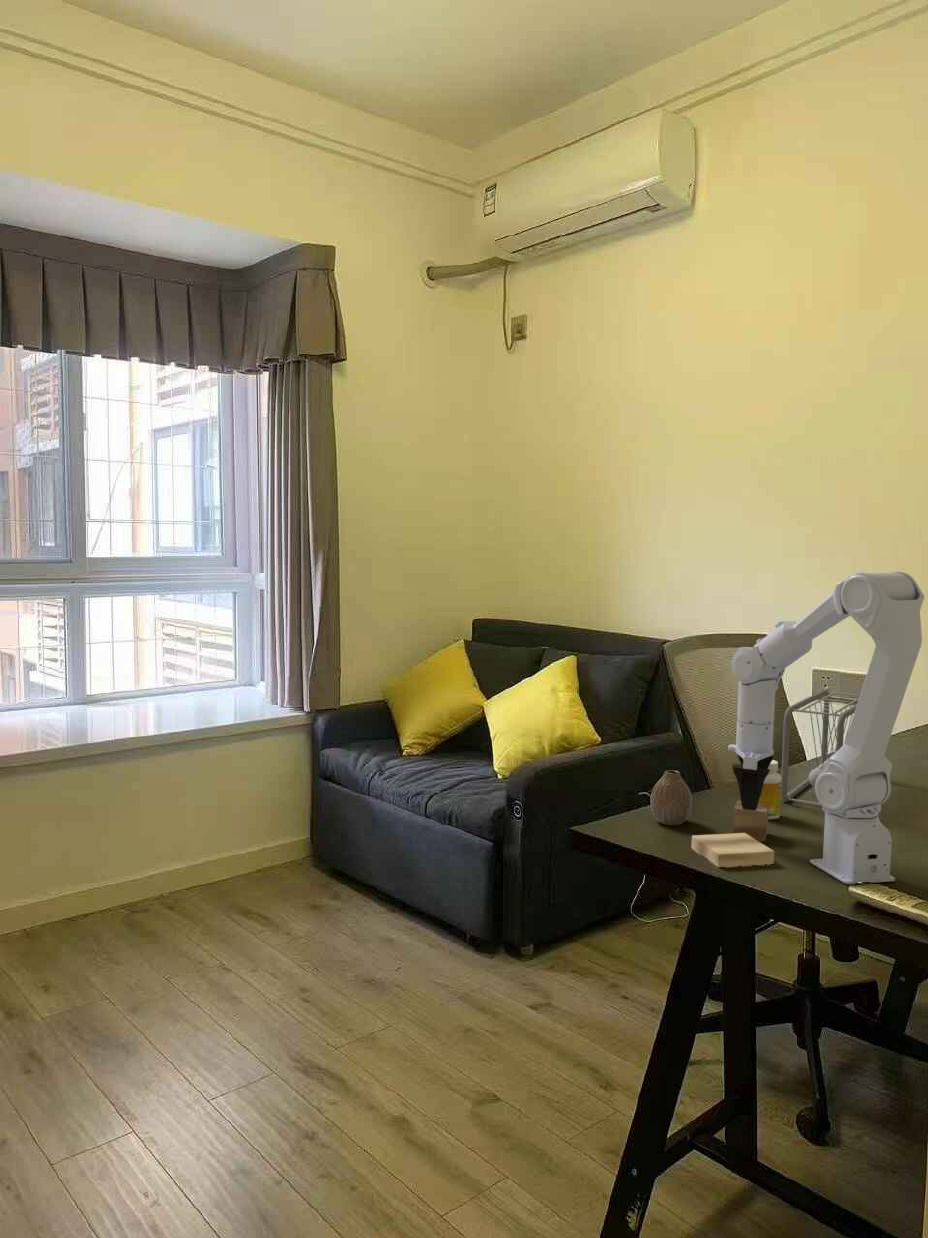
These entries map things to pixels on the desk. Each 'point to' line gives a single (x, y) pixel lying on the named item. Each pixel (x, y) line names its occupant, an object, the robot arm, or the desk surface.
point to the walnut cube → (751, 821)
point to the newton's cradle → (824, 747)
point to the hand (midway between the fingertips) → (751, 803)
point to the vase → (671, 799)
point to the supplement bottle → (772, 791)
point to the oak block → (732, 850)
